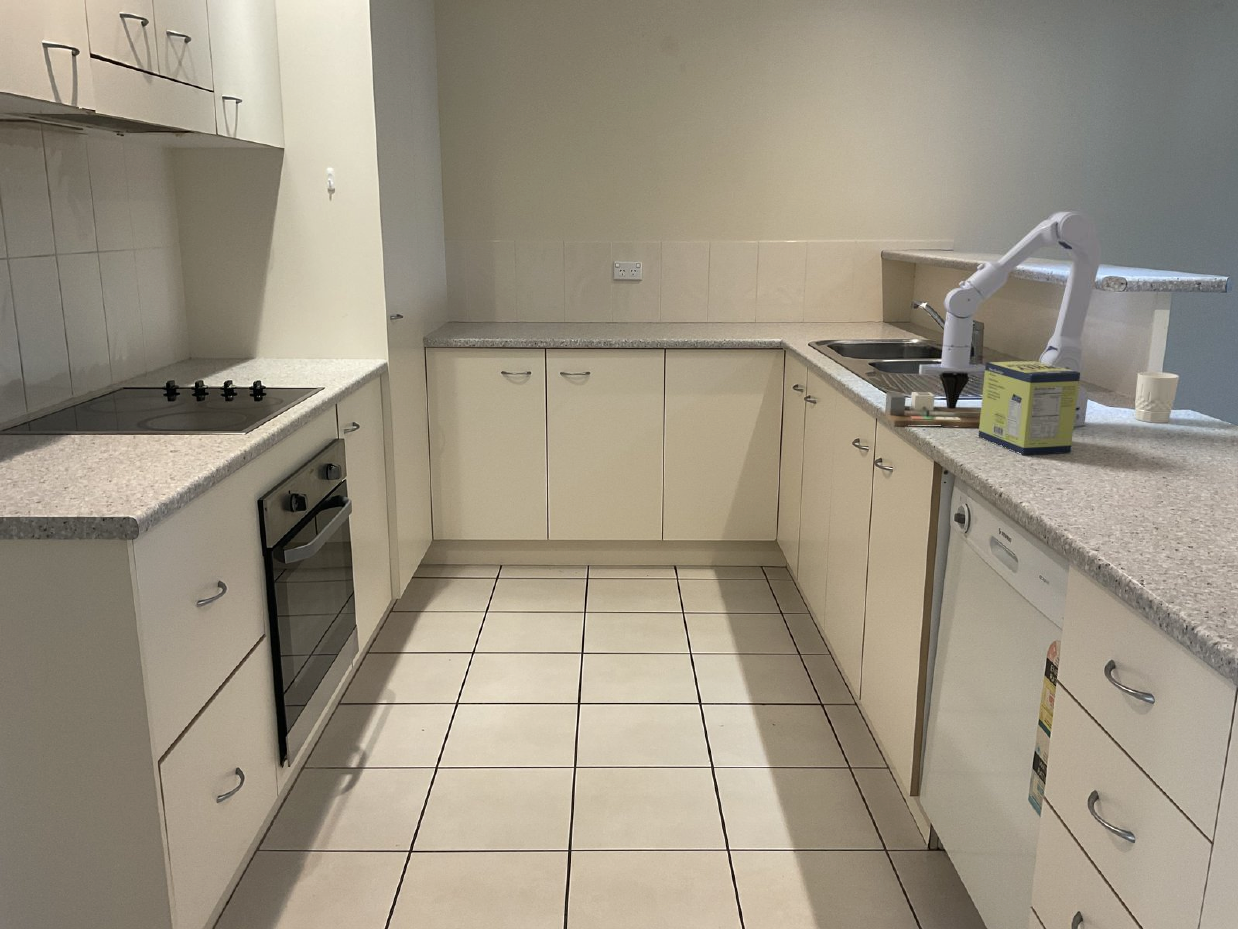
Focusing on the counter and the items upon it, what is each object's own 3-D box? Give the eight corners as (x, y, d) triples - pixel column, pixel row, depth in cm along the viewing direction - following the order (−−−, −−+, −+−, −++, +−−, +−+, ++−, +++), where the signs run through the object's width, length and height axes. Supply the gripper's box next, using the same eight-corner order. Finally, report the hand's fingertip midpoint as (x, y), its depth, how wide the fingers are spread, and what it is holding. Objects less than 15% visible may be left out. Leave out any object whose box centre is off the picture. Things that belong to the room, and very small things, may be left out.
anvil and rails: (982, 411, 214) (983, 393, 213) (989, 417, 208) (991, 399, 207) (885, 409, 216) (886, 392, 215) (890, 415, 210) (891, 397, 209)
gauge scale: (957, 418, 208) (958, 416, 208) (961, 420, 205) (961, 419, 205) (910, 417, 208) (910, 415, 208) (912, 419, 206) (912, 418, 206)
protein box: (1022, 434, 198) (1031, 359, 194) (1072, 453, 184) (1082, 372, 180) (976, 437, 196) (984, 360, 192) (1022, 456, 181) (1032, 373, 177)
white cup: (1133, 422, 210) (1140, 376, 208) (1129, 414, 217) (1135, 370, 215) (1175, 425, 208) (1182, 378, 205) (1168, 417, 215) (1175, 372, 212)
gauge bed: (986, 417, 214) (986, 411, 214) (1000, 428, 204) (1001, 422, 203) (884, 415, 216) (885, 409, 216) (894, 426, 205) (894, 420, 205)
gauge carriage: (928, 410, 214) (930, 391, 213) (937, 417, 206) (938, 398, 205) (910, 409, 214) (911, 391, 213) (917, 417, 207) (919, 398, 206)
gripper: (986, 343, 211) (980, 404, 215) (918, 342, 212) (913, 403, 216) (995, 347, 204) (989, 411, 208) (925, 346, 205) (920, 409, 209)
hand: (951, 407), depth 211 cm, fingers closed
